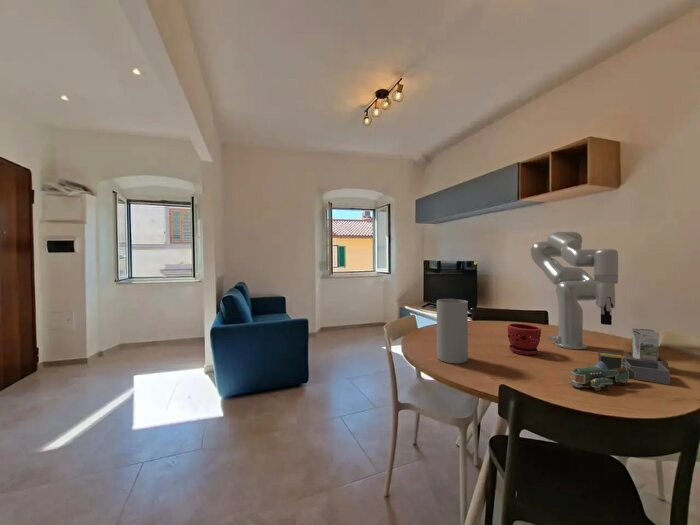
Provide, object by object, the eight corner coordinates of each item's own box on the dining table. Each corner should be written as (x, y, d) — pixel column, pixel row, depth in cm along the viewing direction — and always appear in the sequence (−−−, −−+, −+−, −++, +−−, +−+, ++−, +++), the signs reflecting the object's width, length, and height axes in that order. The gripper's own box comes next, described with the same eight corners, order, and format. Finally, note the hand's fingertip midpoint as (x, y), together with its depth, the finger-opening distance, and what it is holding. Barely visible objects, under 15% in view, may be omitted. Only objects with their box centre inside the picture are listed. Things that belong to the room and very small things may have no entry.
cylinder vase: (431, 359, 129) (431, 301, 128) (444, 352, 138) (444, 298, 138) (460, 366, 120) (460, 304, 120) (472, 358, 130) (472, 300, 129)
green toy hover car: (560, 382, 105) (560, 358, 105) (619, 376, 109) (619, 354, 109) (586, 395, 95) (586, 368, 95) (650, 388, 100) (650, 363, 100)
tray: (629, 378, 107) (629, 366, 107) (622, 369, 116) (622, 357, 116) (669, 384, 102) (670, 371, 102) (659, 374, 111) (659, 362, 110)
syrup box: (649, 365, 120) (649, 328, 120) (658, 370, 115) (659, 332, 114) (631, 363, 122) (631, 327, 122) (639, 368, 116) (640, 331, 116)
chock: (600, 369, 116) (600, 353, 116) (598, 365, 121) (598, 350, 121) (621, 372, 113) (621, 356, 113) (618, 368, 117) (618, 352, 117)
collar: (630, 368, 117) (630, 358, 117) (623, 360, 125) (623, 350, 125) (668, 373, 111) (668, 362, 111) (658, 364, 120) (658, 354, 120)
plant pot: (534, 358, 129) (535, 330, 128) (502, 351, 139) (502, 325, 138) (544, 352, 137) (545, 326, 137) (514, 346, 147) (514, 321, 147)
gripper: (591, 278, 132) (591, 320, 132) (597, 280, 119) (597, 326, 119) (613, 278, 128) (613, 321, 128) (622, 280, 115) (622, 328, 115)
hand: (606, 324), depth 124 cm, fingers closed
